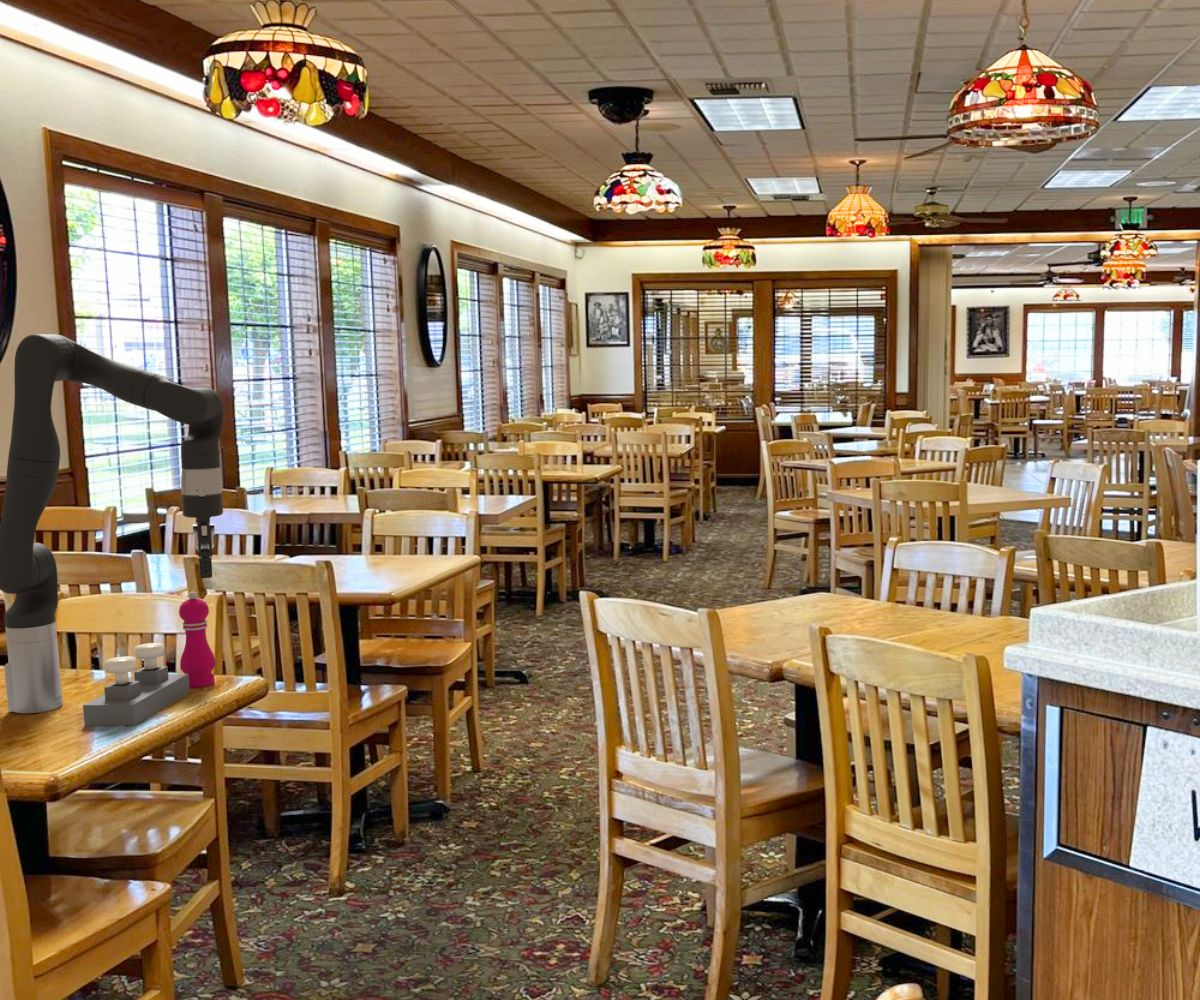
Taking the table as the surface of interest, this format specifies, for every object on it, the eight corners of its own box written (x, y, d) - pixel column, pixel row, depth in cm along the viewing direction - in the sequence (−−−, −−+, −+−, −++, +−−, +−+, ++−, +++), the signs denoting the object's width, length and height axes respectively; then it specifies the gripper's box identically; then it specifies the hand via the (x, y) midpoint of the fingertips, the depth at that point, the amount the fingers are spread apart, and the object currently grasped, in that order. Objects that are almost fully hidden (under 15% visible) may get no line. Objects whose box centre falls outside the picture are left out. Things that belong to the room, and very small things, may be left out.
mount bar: (84, 725, 243) (81, 692, 242) (143, 693, 266) (141, 662, 266) (134, 725, 241) (131, 691, 241) (189, 692, 265) (187, 661, 264)
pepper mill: (206, 688, 268) (199, 594, 266) (175, 688, 269) (167, 594, 267) (223, 680, 275) (216, 588, 273) (192, 679, 276) (185, 588, 274)
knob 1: (101, 686, 245) (99, 663, 244) (115, 679, 250) (113, 656, 250) (128, 686, 244) (127, 663, 244) (142, 678, 250) (140, 656, 249)
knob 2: (131, 671, 257) (129, 649, 256) (144, 664, 262) (142, 643, 262) (157, 670, 256) (155, 648, 255) (170, 664, 261) (168, 642, 261)
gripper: (181, 488, 253) (185, 569, 254) (181, 495, 239) (185, 581, 241) (220, 487, 255) (224, 567, 257) (223, 494, 241) (227, 578, 243)
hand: (205, 574), depth 249 cm, fingers open, 8 cm apart
